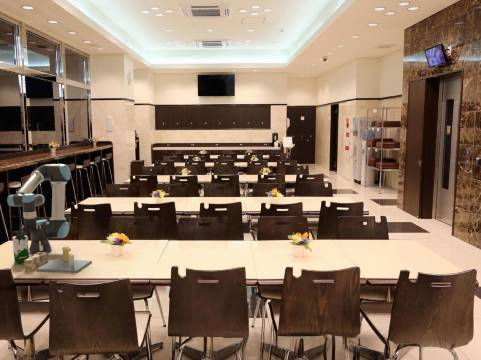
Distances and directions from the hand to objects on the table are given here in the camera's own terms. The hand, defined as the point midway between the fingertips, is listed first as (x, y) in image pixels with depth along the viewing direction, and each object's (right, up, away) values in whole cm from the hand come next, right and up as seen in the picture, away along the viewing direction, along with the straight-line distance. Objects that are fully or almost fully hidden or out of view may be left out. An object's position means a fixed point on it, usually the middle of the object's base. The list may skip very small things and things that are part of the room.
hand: (31, 250), depth 295 cm
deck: (+20, -12, +4) cm, 24 cm away
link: (0, -12, +5) cm, 13 cm away
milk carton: (-13, -11, +15) cm, 23 cm away
